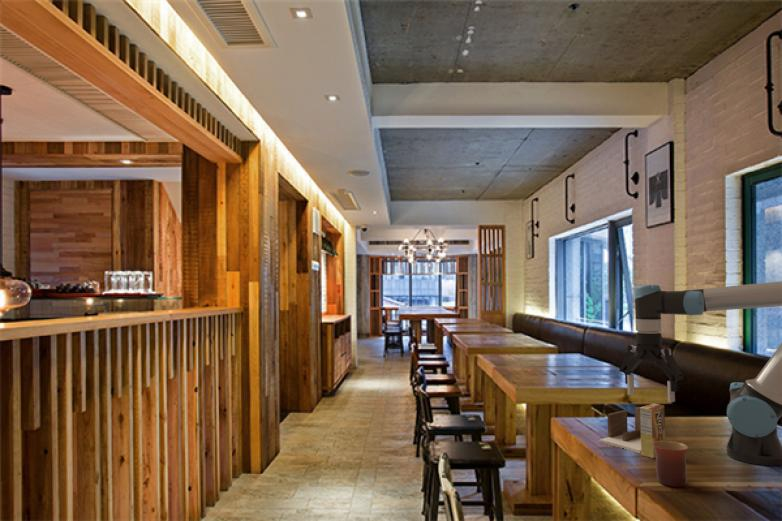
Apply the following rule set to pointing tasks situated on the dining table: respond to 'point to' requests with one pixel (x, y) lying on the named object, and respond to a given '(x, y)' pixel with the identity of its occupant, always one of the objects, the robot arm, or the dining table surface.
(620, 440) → the shelf board
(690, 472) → the dining table surface
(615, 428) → the dark wooden panel
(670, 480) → the mug
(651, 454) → the candy box
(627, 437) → the bookend
